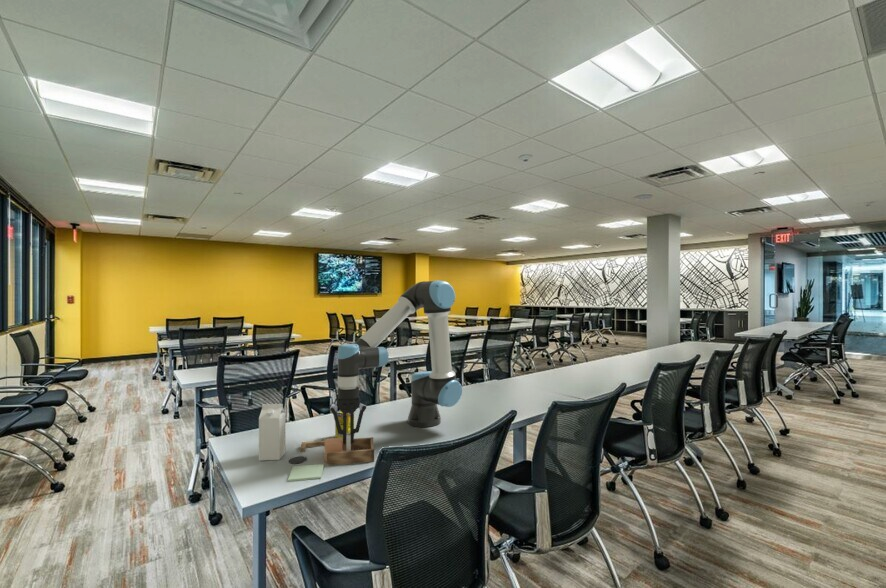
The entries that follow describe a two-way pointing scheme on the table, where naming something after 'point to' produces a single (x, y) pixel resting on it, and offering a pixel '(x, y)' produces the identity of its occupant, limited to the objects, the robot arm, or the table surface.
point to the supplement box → (340, 416)
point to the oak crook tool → (311, 444)
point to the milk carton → (271, 432)
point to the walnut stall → (353, 453)
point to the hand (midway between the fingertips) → (348, 452)
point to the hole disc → (297, 460)
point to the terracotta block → (333, 445)
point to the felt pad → (306, 472)
